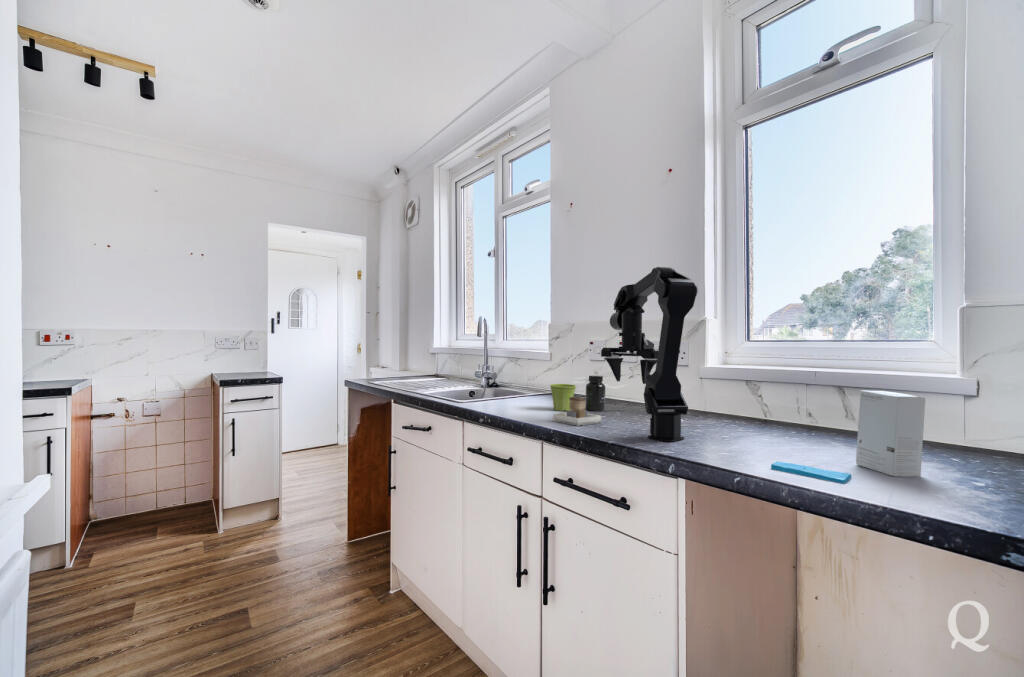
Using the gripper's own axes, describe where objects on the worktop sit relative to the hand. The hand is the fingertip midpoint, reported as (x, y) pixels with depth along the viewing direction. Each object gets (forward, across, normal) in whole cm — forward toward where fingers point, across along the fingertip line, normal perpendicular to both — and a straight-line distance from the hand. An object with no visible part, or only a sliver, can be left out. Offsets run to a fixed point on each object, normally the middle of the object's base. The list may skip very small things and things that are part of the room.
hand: (631, 382), depth 131 cm
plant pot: (+12, +30, -2) cm, 32 cm away
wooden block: (+11, +11, +11) cm, 19 cm away
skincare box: (+12, -59, 0) cm, 60 cm away
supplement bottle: (+12, +24, -12) cm, 30 cm away
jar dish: (+12, +11, +11) cm, 20 cm away
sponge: (+13, -51, +14) cm, 54 cm away
